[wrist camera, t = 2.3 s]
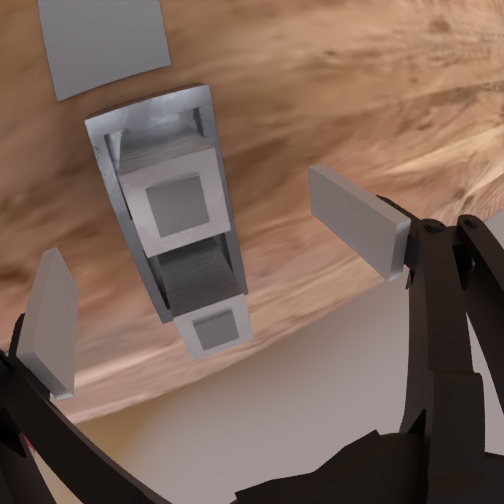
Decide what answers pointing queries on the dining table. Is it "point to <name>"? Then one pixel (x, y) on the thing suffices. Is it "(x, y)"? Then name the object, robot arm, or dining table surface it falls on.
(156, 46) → the mat
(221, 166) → the rail
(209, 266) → the silver square post
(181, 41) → the dining table surface
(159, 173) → the grey square peg
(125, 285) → the dining table surface
